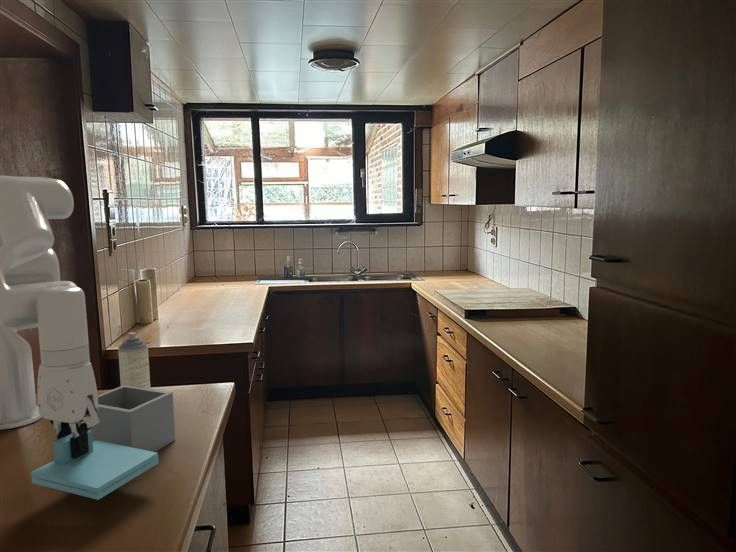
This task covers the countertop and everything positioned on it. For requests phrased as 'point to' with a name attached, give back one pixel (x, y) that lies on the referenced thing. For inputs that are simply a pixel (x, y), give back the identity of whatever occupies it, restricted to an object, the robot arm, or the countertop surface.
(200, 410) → the countertop surface
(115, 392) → the tub
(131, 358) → the aerosol can
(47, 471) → the lid
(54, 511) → the countertop surface
